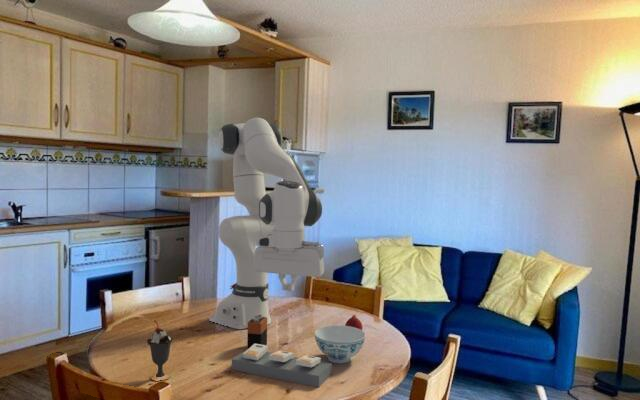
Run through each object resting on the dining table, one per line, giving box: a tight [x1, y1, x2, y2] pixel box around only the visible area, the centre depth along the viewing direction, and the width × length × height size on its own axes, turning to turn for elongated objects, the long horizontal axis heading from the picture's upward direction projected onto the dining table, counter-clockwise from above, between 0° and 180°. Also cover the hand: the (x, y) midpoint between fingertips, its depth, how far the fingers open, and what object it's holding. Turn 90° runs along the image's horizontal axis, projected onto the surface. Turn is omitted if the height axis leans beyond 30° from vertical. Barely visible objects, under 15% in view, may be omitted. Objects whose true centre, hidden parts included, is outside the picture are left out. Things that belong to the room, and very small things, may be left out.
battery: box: [246, 315, 268, 350], centre depth 151 cm, size 4×7×10 cm, turn 169°
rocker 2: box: [269, 350, 295, 362], centre depth 134 cm, size 4×6×2 cm
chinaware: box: [314, 324, 366, 364], centre depth 144 cm, size 15×15×8 cm
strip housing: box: [231, 348, 333, 388], centre depth 134 cm, size 26×9×3 cm, turn 67°
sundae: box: [146, 320, 174, 377], centre depth 128 cm, size 7×7×15 cm
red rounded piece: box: [344, 314, 363, 331], centre depth 163 cm, size 6×6×8 cm
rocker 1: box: [243, 344, 269, 360], centre depth 137 cm, size 4×6×2 cm
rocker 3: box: [296, 354, 322, 367], centre depth 131 cm, size 4×6×2 cm
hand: (288, 290), depth 135 cm, fingers closed
